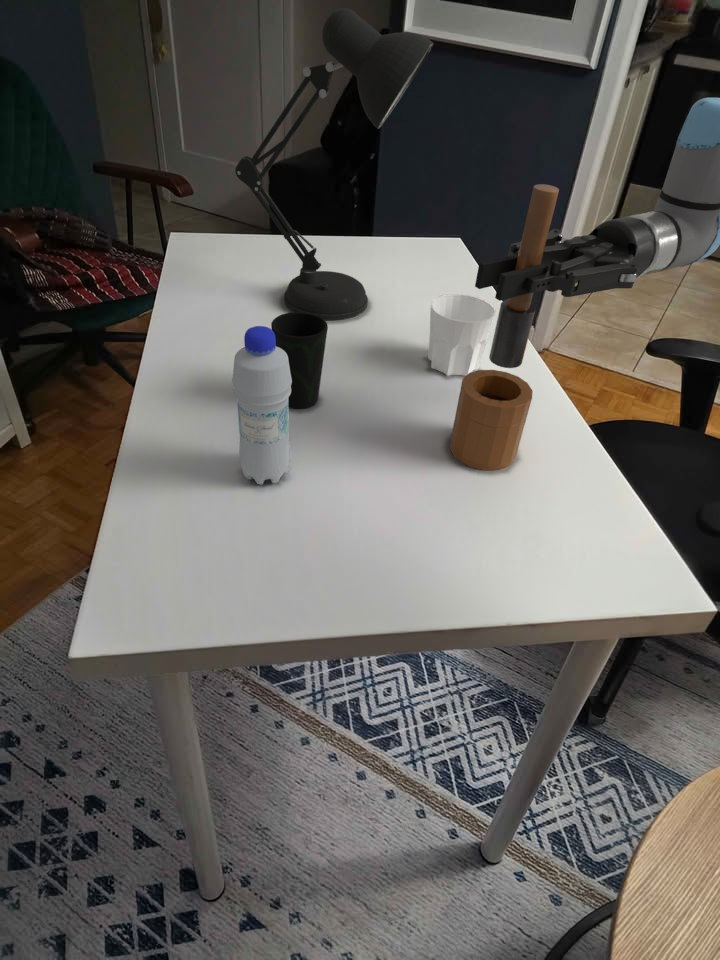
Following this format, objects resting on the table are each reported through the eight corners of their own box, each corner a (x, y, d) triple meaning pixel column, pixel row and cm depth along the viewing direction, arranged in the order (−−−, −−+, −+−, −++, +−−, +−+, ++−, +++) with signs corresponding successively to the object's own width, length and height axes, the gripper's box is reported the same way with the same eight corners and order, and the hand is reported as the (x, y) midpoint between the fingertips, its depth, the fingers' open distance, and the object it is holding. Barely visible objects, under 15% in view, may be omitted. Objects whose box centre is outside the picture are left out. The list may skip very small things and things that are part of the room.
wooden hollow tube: (526, 448, 90) (543, 386, 84) (496, 479, 84) (513, 415, 78) (469, 423, 94) (482, 362, 87) (437, 451, 88) (449, 388, 81)
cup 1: (265, 406, 93) (262, 331, 86) (283, 381, 99) (283, 307, 92) (315, 417, 92) (317, 341, 85) (331, 390, 98) (334, 317, 90)
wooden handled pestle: (527, 359, 80) (572, 188, 67) (513, 371, 77) (556, 196, 64) (498, 348, 81) (536, 179, 68) (483, 360, 79) (520, 187, 66)
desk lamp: (423, 318, 119) (465, 20, 90) (296, 345, 108) (298, 15, 79) (356, 269, 135) (374, 2, 106) (240, 288, 124) (224, -4, 95)
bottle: (231, 485, 80) (219, 339, 67) (247, 453, 85) (239, 311, 72) (284, 494, 79) (282, 348, 66) (297, 461, 84) (298, 319, 72)
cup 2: (476, 349, 111) (487, 295, 105) (489, 380, 103) (501, 323, 97) (419, 348, 110) (426, 293, 104) (427, 378, 103) (436, 321, 96)
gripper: (670, 301, 78) (533, 344, 67) (572, 256, 88) (438, 287, 77) (695, 239, 73) (552, 274, 62) (589, 198, 83) (448, 222, 72)
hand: (489, 281), depth 70 cm, fingers closed on wooden handled pestle, 3 cm apart
